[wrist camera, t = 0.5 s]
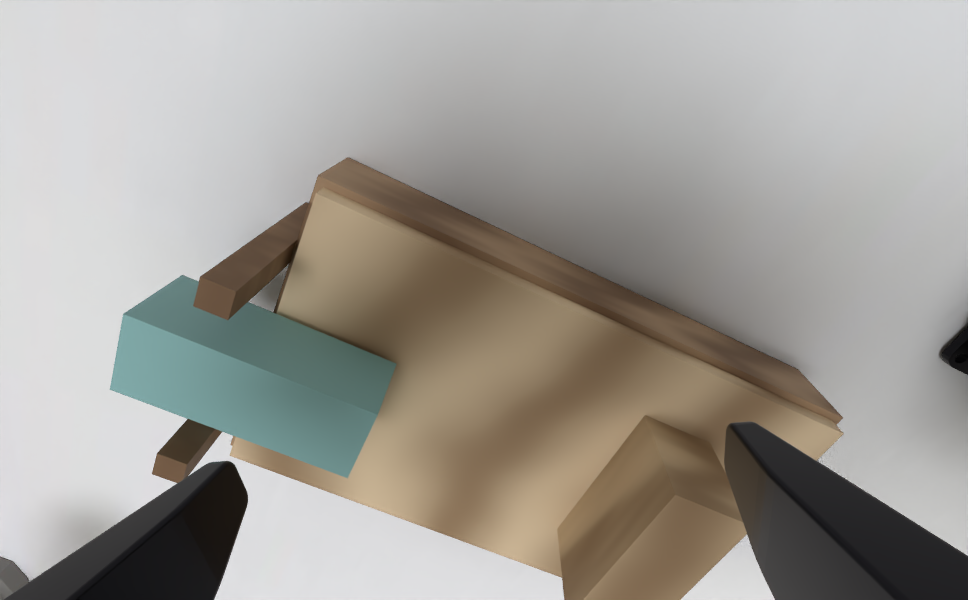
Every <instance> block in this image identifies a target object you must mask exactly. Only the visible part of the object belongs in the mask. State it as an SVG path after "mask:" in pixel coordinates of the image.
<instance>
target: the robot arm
mask: <svg viewBox="0 0 968 600" xmlns="http://www.w3.org/2000/svg"><path fill="white" fill-rule="evenodd" d="M959 354H960V355H959ZM958 355H959V356H958ZM956 356H958V357H956ZM942 360H943V361H944V362H946V363H947V364H949V365H950V366H951V367H953V368H955V369H957V370H959V371H961V372H963V373H965V374H967V375H968V328H967V329H966V330H965V331H964V332H962V333H961V334H960V335H959V336H958V337H957V338H956V339H955V340H954V341H953V342H952V343H951V344H950V345H949V346H948V347H947V348H946V349H945V350H944V352H943V353H942ZM724 466H725V471H726V475H727V478H728V481H729V484H730V486H731V489H732V492H733V495H734V498H735V501H736V504H737V506H738V509H739V512H740V515H741V518H742V521H743V523H744V526H745V529H746V532H747V535H748V538H749V541H750V543H751V546H752V549H753V552H754V554H755V557H756V560H757V562H758V564H759V566H760V569H761V571H762V573H763V575H764V578H765V580H766V582H767V584H768V586H769V588H770V590H771V592H772V594H773V596H774V598H775V600H968V556H967V555H966V554H964V553H962V552H961V551H959V550H958V549H956V548H954V547H953V546H951V545H950V544H948V543H946V542H945V541H943V540H942V539H940V538H938V537H937V536H935V535H934V534H932V533H931V532H929V531H927V530H926V529H924V528H923V527H921V526H919V525H918V524H916V523H915V522H913V521H911V520H910V519H908V518H907V517H905V516H904V515H902V514H900V513H899V512H897V511H896V510H894V509H892V508H891V507H889V506H888V505H886V504H884V503H883V502H881V501H880V500H878V499H876V498H875V497H873V496H872V495H870V494H869V493H867V492H865V491H864V490H862V489H861V488H859V487H857V486H856V485H854V484H853V483H851V482H849V481H848V480H846V479H845V478H843V477H841V476H840V475H838V474H837V473H835V472H834V471H832V470H830V469H829V468H827V467H826V466H824V465H822V464H821V463H819V462H818V461H816V460H814V459H813V458H811V457H810V456H808V455H806V454H805V453H803V452H802V451H800V450H799V449H797V448H795V447H794V446H792V445H791V444H789V443H787V442H786V441H784V440H783V439H781V438H779V437H778V436H776V435H775V434H773V433H772V432H770V431H768V430H767V429H765V428H764V427H762V426H760V425H759V424H757V423H755V422H751V421H748V422H735V423H730V424H729V425H728V426H727V428H726V437H725V452H724ZM247 503H248V495H247V491H246V489H245V486H244V484H243V482H242V480H241V478H240V475H239V473H238V471H237V469H236V467H235V465H234V464H233V463H232V462H229V461H221V462H211V463H208V464H206V465H204V466H203V467H201V468H200V469H198V470H197V471H195V472H194V473H192V474H191V475H189V476H188V477H186V478H185V479H183V480H182V481H180V482H179V483H177V484H176V485H174V486H173V487H171V488H170V489H168V490H167V491H165V492H164V493H162V494H161V495H159V496H158V497H156V498H155V499H153V500H152V501H150V502H149V503H147V504H146V505H144V506H143V507H141V508H140V509H138V510H137V511H135V512H134V513H132V514H131V515H129V516H128V517H126V518H125V519H123V520H122V521H120V522H119V523H117V524H116V525H114V526H113V527H111V528H110V529H108V530H107V531H105V532H104V533H102V534H101V535H99V536H98V537H96V538H95V539H93V540H92V541H90V542H89V543H87V544H86V545H84V546H83V547H81V548H80V549H78V550H77V551H75V552H74V553H72V554H71V555H69V556H68V557H66V558H65V559H63V560H62V561H60V562H59V563H57V564H56V565H54V566H53V567H51V568H50V569H48V570H47V571H45V572H44V573H42V574H41V575H39V576H38V577H36V578H35V579H33V580H32V581H30V582H29V583H27V584H26V585H24V586H23V587H21V588H20V589H18V590H17V591H15V592H14V593H12V594H11V595H9V596H8V597H6V598H5V599H3V600H214V598H215V596H216V594H217V591H218V589H219V586H220V584H221V581H222V578H223V575H224V573H225V570H226V567H227V564H228V561H229V558H230V555H231V552H232V549H233V546H234V543H235V540H236V537H237V534H238V531H239V528H240V525H241V523H242V520H243V517H244V514H245V511H246V508H247Z"/></svg>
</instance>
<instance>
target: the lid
mask: <svg viewBox="0 0 968 600" xmlns="http://www.w3.org/2000/svg"><path fill="white" fill-rule="evenodd" d="M276 314H278V315H280V316H283V317H285V318H287V319H290V320H292V321H295V322H297V323H299V324H302V325H304V326H307V327H309V328H312V329H314V330H316V331H319V332H321V333H324V334H326V335H328V336H331V337H333V338H336V339H338V340H340V341H343V342H345V343H348V344H350V345H353V346H355V347H357V348H360V349H362V350H365V351H367V352H369V353H372V354H374V355H377V356H379V357H382V358H384V359H386V360H389V361H391V362H394V363H396V367H395V370H394V372H393V375H392V378H391V381H390V383H389V386H388V389H387V391H386V394H385V397H384V400H383V402H382V405H381V408H380V410H379V413H378V416H377V418H376V420H375V422H374V424H373V426H372V428H371V430H370V432H369V435H368V437H367V439H366V441H365V443H364V445H363V447H362V449H361V451H360V453H359V456H358V458H357V460H356V462H355V464H354V466H353V468H352V470H351V472H350V474H349V477H348V478H345V477H343V476H340V475H337V474H335V473H332V472H329V471H327V470H324V469H321V468H319V467H316V466H313V465H311V464H308V463H305V462H303V461H300V460H297V459H295V458H292V457H289V456H287V455H284V454H281V453H278V452H276V451H273V450H270V449H268V448H265V447H262V446H260V445H257V444H254V443H252V442H249V441H246V440H244V439H241V438H238V437H236V438H235V441H234V444H233V447H232V450H231V453H230V456H232V457H235V458H238V459H240V460H243V461H246V462H248V463H251V464H254V465H257V466H259V467H262V468H265V469H268V470H270V471H273V472H276V473H278V474H281V475H284V476H287V477H289V478H292V479H295V480H298V481H300V482H303V483H306V484H308V485H311V486H314V487H317V488H319V489H322V490H325V491H327V492H330V493H333V494H336V495H338V496H341V497H344V498H347V499H349V500H352V501H355V502H357V503H360V504H363V505H366V506H368V507H371V508H374V509H376V510H379V511H382V512H385V513H387V514H390V515H393V516H396V517H398V518H401V519H404V520H406V521H409V522H412V523H415V524H417V525H420V526H423V527H426V528H428V529H431V530H434V531H436V532H439V533H442V534H445V535H447V536H450V537H453V538H455V539H458V540H461V541H464V542H466V543H469V544H472V545H475V546H477V547H480V548H483V549H485V550H488V551H491V552H494V553H496V554H499V555H502V556H504V557H507V558H510V559H513V560H515V561H518V562H521V563H524V564H526V565H529V566H532V567H534V568H537V569H540V570H543V571H545V572H548V573H551V574H554V575H556V576H559V577H562V580H563V590H564V600H680V599H681V598H682V597H683V596H684V595H685V594H686V593H687V592H688V591H689V590H691V589H692V588H693V587H694V586H695V585H696V584H697V583H698V582H699V581H700V580H701V579H702V578H703V577H704V576H705V575H706V574H707V573H708V572H709V571H710V570H711V569H712V568H713V567H714V566H715V565H716V564H717V563H718V562H719V561H720V560H721V559H722V558H723V557H724V556H725V555H726V554H727V553H728V552H729V551H730V550H731V549H732V548H733V547H734V546H735V545H736V544H737V543H738V542H739V541H740V540H741V539H742V538H743V537H744V536H745V535H746V534H747V532H746V529H745V526H744V523H743V521H742V518H741V515H740V512H739V509H738V506H737V504H736V501H735V498H734V495H733V492H732V489H731V486H730V484H729V481H728V478H727V475H726V471H725V466H724V452H725V437H726V428H727V426H728V425H729V424H730V423H735V422H748V421H751V422H755V423H757V424H759V425H760V426H762V427H764V428H765V429H767V430H768V431H770V432H772V433H773V434H775V435H776V436H778V437H779V438H781V439H783V440H784V441H786V442H787V443H789V444H791V445H792V446H794V447H795V448H797V449H799V450H800V451H802V452H803V453H805V454H806V455H808V456H810V457H811V458H813V459H814V460H816V461H817V460H818V459H819V458H820V457H821V456H822V455H823V454H824V453H825V452H826V451H827V450H828V449H829V448H830V447H831V446H832V445H833V444H834V443H835V442H836V441H837V440H838V439H839V438H840V437H841V436H842V435H843V434H844V433H843V432H842V431H841V430H840V429H839V428H838V427H837V426H836V425H835V423H834V422H833V421H832V420H830V419H828V418H825V417H823V416H821V415H819V414H817V413H815V412H812V411H810V410H808V409H806V408H804V407H801V406H799V405H797V404H795V403H793V402H791V401H788V400H786V399H784V398H782V397H780V396H777V395H775V394H773V393H771V392H769V391H767V390H764V389H762V388H760V387H758V386H756V385H754V384H751V383H749V382H747V381H745V380H743V379H740V378H738V377H736V376H734V375H732V374H730V373H727V372H725V371H723V370H721V369H719V368H716V367H714V366H712V365H710V364H708V363H706V362H703V361H701V360H699V359H697V358H695V357H692V356H690V355H688V354H686V353H684V352H682V351H679V350H677V349H675V348H673V347H671V346H668V345H666V344H664V343H662V342H660V341H658V340H655V339H653V338H651V337H649V336H647V335H645V334H642V333H640V332H638V331H636V330H634V329H631V328H629V327H627V326H625V325H623V324H621V323H618V322H616V321H614V320H612V319H610V318H607V317H605V316H603V315H601V314H599V313H597V312H594V311H592V310H590V309H588V308H586V307H583V306H581V305H579V304H577V303H575V302H573V301H570V300H568V299H566V298H564V297H562V296H560V295H557V294H555V293H553V292H551V291H549V290H546V289H544V288H542V287H540V286H538V285H536V284H533V283H531V282H529V281H527V280H525V279H522V278H520V277H518V276H516V275H514V274H512V273H509V272H507V271H505V270H503V269H501V268H498V267H496V266H494V265H492V264H490V263H488V262H485V261H483V260H481V259H479V258H477V257H475V256H472V255H470V254H468V253H466V252H464V251H461V250H459V249H457V248H455V247H453V246H451V245H448V244H446V243H444V242H442V241H440V240H437V239H435V238H433V237H431V236H429V235H427V234H424V233H422V232H420V231H418V230H416V229H413V228H411V227H409V226H407V225H405V224H403V223H400V222H398V221H396V220H394V219H392V218H389V217H387V216H385V215H383V214H381V213H379V212H376V211H374V210H372V209H370V208H368V207H366V206H363V205H361V204H359V203H357V202H355V201H352V200H350V199H348V198H346V197H344V196H342V195H339V194H337V193H335V192H333V191H331V190H328V189H326V188H322V189H321V190H319V191H318V192H317V193H316V194H315V197H314V200H313V203H312V206H311V209H310V212H309V215H308V218H307V221H306V224H305V227H304V231H303V234H302V237H301V240H300V243H299V246H298V249H297V252H296V255H295V258H294V261H293V264H292V267H291V270H290V273H289V276H288V279H287V282H286V285H285V288H284V291H283V294H282V297H281V301H280V304H279V307H278V310H277V313H276Z"/></svg>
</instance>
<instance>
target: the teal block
mask: <svg viewBox="0 0 968 600" xmlns="http://www.w3.org/2000/svg"><path fill="white" fill-rule="evenodd" d="M198 284H199V282H198V281H196V280H193V279H191V278H189V277H186V276H184V275H182V276H180V277H179V278H177V279H176V280H174V281H173V282H171V283H170V284H168V285H167V286H165V287H164V288H162V289H160V290H159V291H157V292H156V293H154V294H153V295H151V296H150V297H148V298H147V299H145V300H144V301H142V302H141V303H139V304H138V305H136V306H135V307H133V308H132V309H130V310H129V311H127V312H126V313H124V314H123V319H122V324H121V330H120V336H119V341H118V347H117V353H116V358H115V364H114V370H113V375H112V381H111V386H110V390H112V391H115V392H118V393H121V394H123V395H126V396H129V397H131V398H134V399H137V400H139V401H142V402H145V403H147V404H150V405H153V406H155V407H158V408H161V409H163V410H166V411H169V412H171V413H174V414H177V415H179V416H182V417H185V418H187V419H190V420H193V421H195V422H198V423H201V424H204V425H206V426H209V427H212V428H214V429H217V430H220V431H222V432H225V433H228V434H230V435H233V436H236V437H238V438H241V439H244V440H246V441H249V442H252V443H254V444H257V445H260V446H262V447H265V448H268V449H270V450H273V451H276V452H278V453H281V454H284V455H287V456H289V457H292V458H295V459H297V460H300V461H303V462H305V463H308V464H311V465H313V466H316V467H319V468H321V469H324V470H327V471H329V472H332V473H335V474H337V475H340V476H343V477H345V478H348V477H349V474H350V472H351V470H352V468H353V466H354V464H355V462H356V460H357V458H358V456H359V453H360V451H361V449H362V447H363V445H364V443H365V441H366V439H367V437H368V435H369V432H370V430H371V428H372V426H373V424H374V422H375V420H376V418H377V416H378V413H379V410H380V408H381V405H382V402H383V400H384V397H385V394H386V391H387V389H388V386H389V383H390V381H391V378H392V375H393V372H394V370H395V367H396V363H394V362H391V361H389V360H386V359H384V358H382V357H379V356H377V355H374V354H372V353H369V352H367V351H365V350H362V349H360V348H357V347H355V346H353V345H350V344H348V343H345V342H343V341H340V340H338V339H336V338H333V337H331V336H328V335H326V334H324V333H321V332H319V331H316V330H314V329H312V328H309V327H307V326H304V325H302V324H299V323H297V322H295V321H292V320H290V319H287V318H285V317H283V316H280V315H278V314H275V313H273V312H271V311H268V310H266V309H263V308H261V307H258V306H256V305H254V304H251V303H249V302H247V303H246V304H245V305H244V306H243V307H242V308H241V309H240V310H239V311H237V312H236V313H235V314H234V315H233V316H232V317H231V318H230V319H229V320H226V319H223V318H221V317H218V316H216V315H213V314H211V313H208V312H206V311H204V310H201V309H199V308H196V307H194V306H193V304H194V300H195V296H196V292H197V288H198Z"/></svg>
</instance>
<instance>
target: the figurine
mask: <svg viewBox="0 0 968 600" xmlns="http://www.w3.org/2000/svg"><path fill="white" fill-rule="evenodd" d="M27 583H28V578H27V577H26V576H25V575H24V574H23V573H22V572H21V570H20V569H19V568H18V567H17V566H16V565H15V564H14V563H13V561H10V560H7V559H4V558H1V557H0V600H3V599H5V598H6V597H8V596H9V595H11V594H12V593H14V592H15V591H17V590H18V589H20V588H21V587H23V586H24V585H26V584H27Z"/></svg>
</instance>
